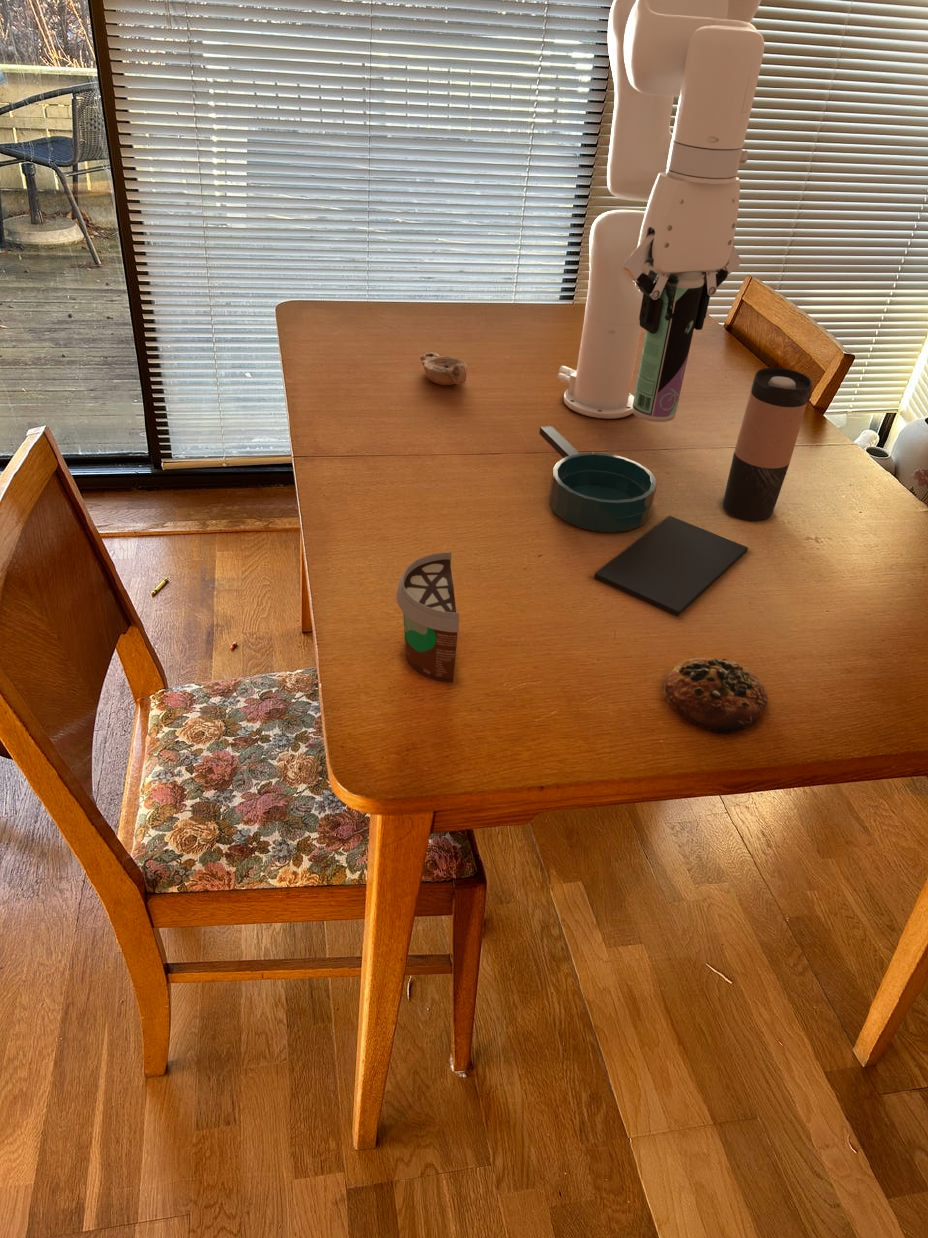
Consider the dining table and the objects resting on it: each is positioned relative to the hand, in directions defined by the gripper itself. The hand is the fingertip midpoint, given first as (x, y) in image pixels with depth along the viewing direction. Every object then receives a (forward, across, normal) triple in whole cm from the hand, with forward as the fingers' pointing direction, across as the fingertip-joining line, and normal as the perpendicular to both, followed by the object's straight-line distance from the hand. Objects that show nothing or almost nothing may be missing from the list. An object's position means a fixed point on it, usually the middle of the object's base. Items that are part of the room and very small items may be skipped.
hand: (670, 326), depth 111 cm
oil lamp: (+29, +7, -55) cm, 62 cm away
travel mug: (+29, -20, -1) cm, 35 cm away
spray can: (+11, 0, 0) cm, 11 cm away
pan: (+29, +1, -7) cm, 29 cm away
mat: (+29, -1, +9) cm, 30 cm away
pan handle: (+26, +1, -20) cm, 33 cm away
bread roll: (+29, +8, +33) cm, 45 cm away
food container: (+29, +36, +17) cm, 49 cm away
